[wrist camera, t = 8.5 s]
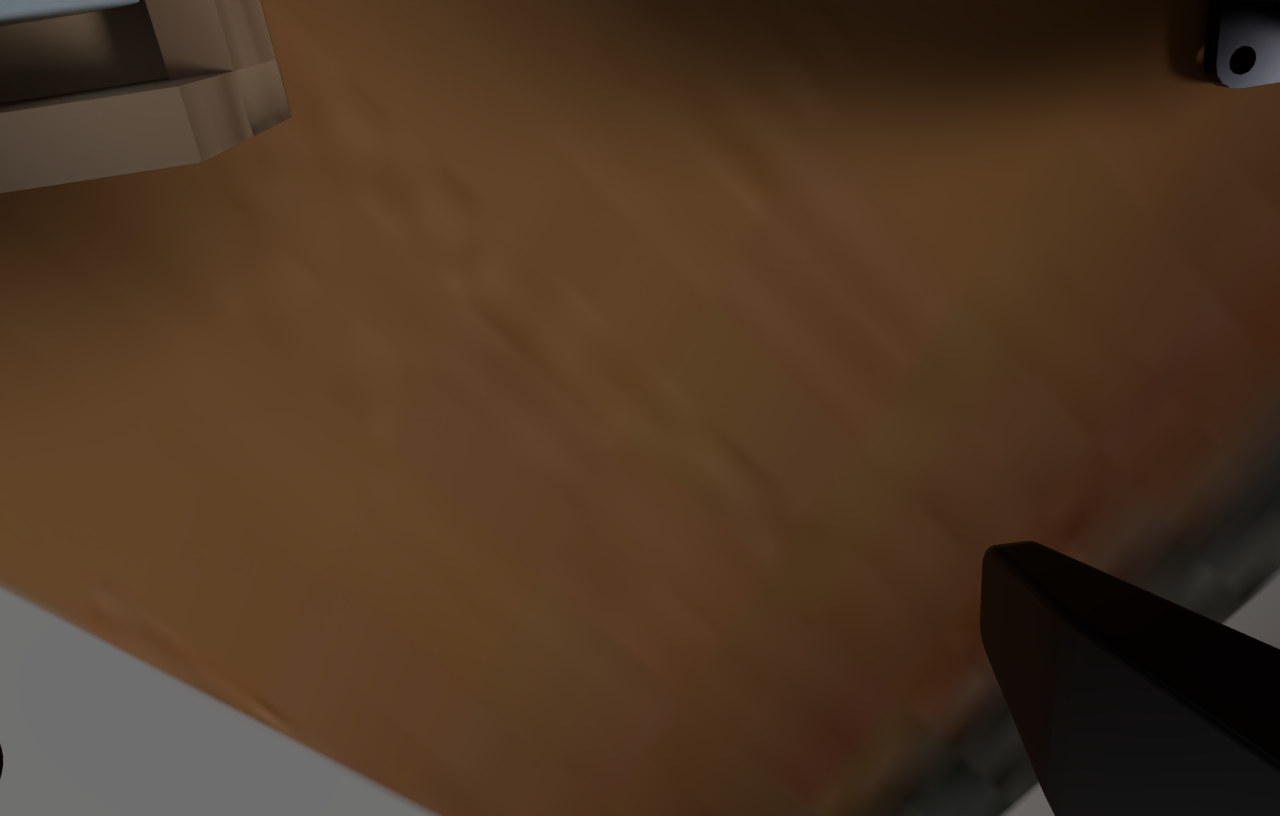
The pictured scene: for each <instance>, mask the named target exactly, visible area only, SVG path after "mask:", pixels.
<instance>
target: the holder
mask: <svg viewBox="0 0 1280 816" xmlns="http://www.w3.org/2000/svg"><path fill="white" fill-rule="evenodd" d="M290 117H291V113H290V110H289V106H288V102H287V99H286V95H285V91H284V88H283V84H282V80H281V76H280V73H279V69H278V65H277V62H276V58H275V54H274V51H273V47H272V43H271V39H270V36H269V32H268V28H267V25H266V21H265V17H264V14H263V10H262V6H261V3H260V0H139V2H137V3H134V4H130V5H126V6H121V7H117V8H112V9H106V10H101V11H95V12H90V13H84V14H78V15H72V16H66V17H60V18H54V19H47V20H41V21H35V22H28V23H21V24H15V25H8V26H1V27H0V193H6V192H13V191H19V190H26V189H32V188H39V187H45V186H52V185H58V184H65V183H71V182H78V181H85V180H91V179H98V178H104V177H111V176H117V175H124V174H130V173H137V172H143V171H150V170H156V169H163V168H169V167H176V166H182V165H189V164H195V163H202V162H204V161H206V160H208V159H210V158H212V157H214V156H216V155H218V154H220V153H222V152H224V151H225V150H227V149H229V148H231V147H233V146H235V145H237V144H239V143H241V142H243V141H245V140H247V139H249V138H251V137H253V136H255V135H257V134H259V133H261V132H263V131H265V130H267V129H269V128H271V127H273V126H274V125H276V124H278V123H280V122H282V121H284V120H286V119H288V118H290Z"/></svg>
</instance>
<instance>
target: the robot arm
mask: <svg viewBox="0 0 1280 816" xmlns="http://www.w3.org/2000/svg"><path fill="white" fill-rule="evenodd" d="M1238 48H1240V49H1241V50H1242V54H1243V58H1242V61H1241V64H1240V65H1239V66H1238V67H1237V68H1236V70H1234V71H1231V70H1230V65H1229V61H1230V58H1231V55H1232V54H1233V53H1234V52H1235V51H1236V49H1238ZM1204 72H1205V74H1206V76H1207V78H1208V79H1209V81H1210V82H1212V83H1214V84H1215V85H1217V86H1223V87H1229V88H1245V87H1251V86H1258V85H1264V84H1271V83H1277V82H1280V0H1209V5H1208V17H1207V29H1206V40H1205V52H1204ZM980 631H981V637H982V642H983V645H984V649H985V651H986V654H987V657H988V659H989V661H990V664H991V666H992V669H993V671H994V674H995V676H996V679H997V681H998V683H999V686H1000V688H1001V691H1002V693H1003V696H1004V698H1005V701H1006V703H1007V706H1008V708H1009V710H1010V713H1011V715H1012V718H1013V720H1014V723H1015V725H1016V728H1017V730H1018V732H1019V735H1020V737H1021V740H1022V742H1023V745H1024V747H1025V750H1026V752H1027V755H1028V757H1029V759H1030V762H1031V764H1032V767H1033V769H1034V772H1035V774H1036V776H1037V779H1038V781H1039V783H1040V785H1041V788H1042V790H1043V792H1044V794H1045V797H1046V799H1047V801H1048V803H1049V805H1050V807H1051V809H1052V811H1053V813H1054V815H1055V816H1280V649H1278V648H1275V647H1273V646H1271V645H1268V644H1266V643H1264V642H1262V641H1259V640H1257V639H1255V638H1253V637H1250V636H1248V635H1246V634H1244V633H1241V632H1239V631H1237V630H1234V629H1232V628H1230V627H1227V626H1225V625H1223V624H1221V623H1219V622H1216V621H1214V620H1212V619H1210V618H1207V617H1205V616H1203V615H1200V614H1198V613H1196V612H1194V611H1191V610H1189V609H1187V608H1185V607H1182V606H1180V605H1178V604H1175V603H1173V602H1171V601H1169V600H1166V599H1164V598H1162V597H1160V596H1157V595H1155V594H1153V593H1151V592H1148V591H1146V590H1144V589H1141V588H1139V587H1137V586H1135V585H1132V584H1130V583H1128V582H1126V581H1123V580H1121V579H1119V578H1117V577H1114V576H1112V575H1110V574H1107V573H1105V572H1103V571H1101V570H1098V569H1096V568H1094V567H1092V566H1089V565H1087V564H1085V563H1082V562H1080V561H1078V560H1076V559H1073V558H1071V557H1069V556H1067V555H1064V554H1062V553H1060V552H1058V551H1055V550H1053V549H1051V548H1048V547H1046V546H1044V545H1042V544H1039V543H1037V542H1034V541H1022V542H1014V543H1007V544H999V545H993V546H990V547H989V548H988V549H987V550H986V552H985V554H984V557H983V562H982V582H981V606H980ZM2 769H3V753H2V748H1V745H0V778H1V774H2Z"/></svg>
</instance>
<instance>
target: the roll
mask: <svg viewBox="0 0 1280 816" xmlns="http://www.w3.org/2000/svg"><path fill="white" fill-rule="evenodd" d="M137 2H139V0H0V27H1V26H8V25H15V24H21V23H28V22H35V21H41V20H47V19H54V18H60V17H66V16H72V15H78V14H84V13H90V12H95V11H101V10H106V9H112V8H117V7H121V6H126V5H130V4H134V3H137Z"/></svg>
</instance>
